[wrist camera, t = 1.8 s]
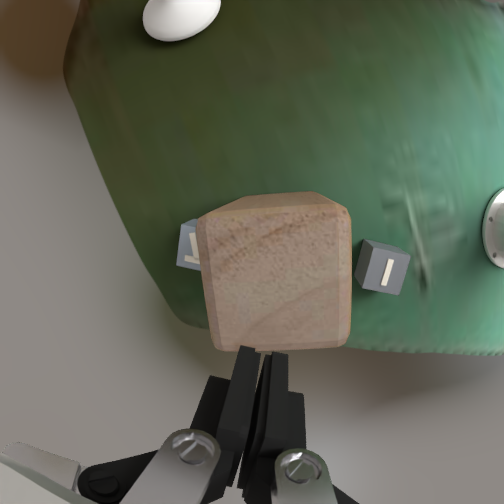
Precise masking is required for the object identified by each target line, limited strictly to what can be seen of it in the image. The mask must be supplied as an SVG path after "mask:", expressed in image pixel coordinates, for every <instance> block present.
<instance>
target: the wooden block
mask: <svg viewBox="0 0 504 504" xmlns="http://www.w3.org/2000/svg"><path fill="white" fill-rule="evenodd" d="M195 230H196V238H197V246H198V253H199V261H200V268H201V275H202V282H203V289H204V296H205V302H206V309H207V315H208V321H209V327H210V333H211V339H212V341H213V344H214V346H215V347H216V349H219V350H222V351H239V348H240V345H243V346H248V347H252V348H256V349H255V351H272V350H273V351H274V350H297V349H315V348H329V347H338V346H341V345H343V344H345V343H346V341H347V338H348V336H349V334H350V324H351V294H352V241H351V218H350V216H349V213H348V211H347V209H346V207H344V206H342V205H340V204H338V203H336V202H334V201H332V200H330V199H328V198H326V197H324V196H322V195H320V194H318V193H316V192H313V191H306V192H290V193H276V194H263V195H251V196H244V197H242V198H240V199H238V200H235V201H233V202H231V203H229V204H226V205H224V206H222V207H220V208H218V209H215V210H213V211H211V212H209V213H207V214H205V215H203V216H201V217H200V218H198V222H197V225H196V229H195Z"/></svg>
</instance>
